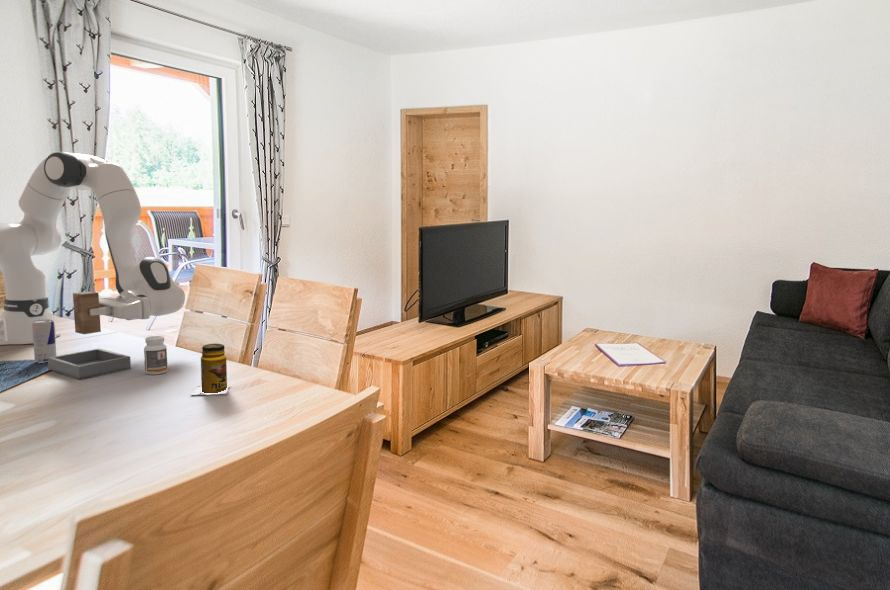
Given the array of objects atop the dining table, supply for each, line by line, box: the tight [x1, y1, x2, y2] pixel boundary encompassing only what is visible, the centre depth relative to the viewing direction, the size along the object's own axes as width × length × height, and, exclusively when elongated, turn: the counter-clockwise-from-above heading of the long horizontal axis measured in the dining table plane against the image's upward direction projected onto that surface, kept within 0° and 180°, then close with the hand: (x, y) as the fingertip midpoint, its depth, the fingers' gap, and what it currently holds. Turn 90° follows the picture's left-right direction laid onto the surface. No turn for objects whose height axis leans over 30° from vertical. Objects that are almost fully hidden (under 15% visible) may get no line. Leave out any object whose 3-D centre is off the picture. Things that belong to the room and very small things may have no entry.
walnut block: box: [72, 291, 102, 335], centre depth 165 cm, size 4×4×11 cm
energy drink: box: [32, 320, 57, 364], centre depth 173 cm, size 5×5×12 cm
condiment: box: [198, 343, 228, 393], centre depth 150 cm, size 7×8×12 cm
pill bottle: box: [143, 335, 169, 376], centre depth 165 cm, size 6×6×10 cm
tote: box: [47, 347, 132, 381], centre depth 167 cm, size 16×14×4 cm
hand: (83, 311), depth 164 cm, fingers closed on walnut block, 4 cm apart
